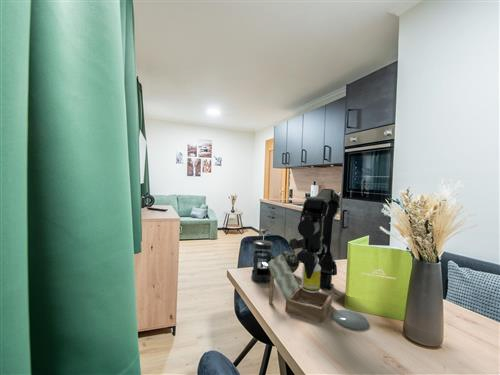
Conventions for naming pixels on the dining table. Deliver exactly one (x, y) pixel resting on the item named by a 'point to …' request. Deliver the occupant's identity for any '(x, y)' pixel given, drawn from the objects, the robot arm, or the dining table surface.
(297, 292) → the cold frame
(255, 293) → the dining table surface
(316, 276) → the pill bottle
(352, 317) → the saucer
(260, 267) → the french press
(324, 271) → the robot arm
